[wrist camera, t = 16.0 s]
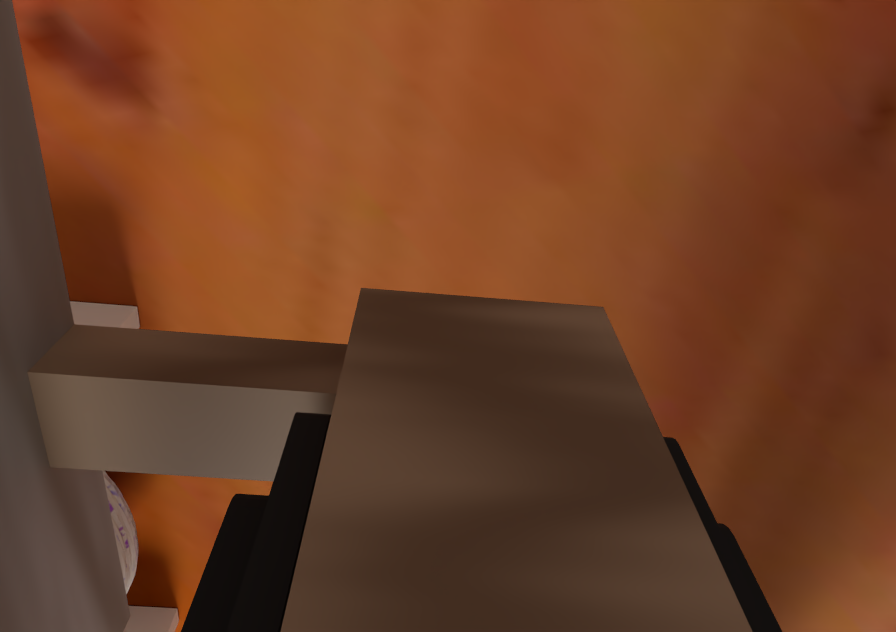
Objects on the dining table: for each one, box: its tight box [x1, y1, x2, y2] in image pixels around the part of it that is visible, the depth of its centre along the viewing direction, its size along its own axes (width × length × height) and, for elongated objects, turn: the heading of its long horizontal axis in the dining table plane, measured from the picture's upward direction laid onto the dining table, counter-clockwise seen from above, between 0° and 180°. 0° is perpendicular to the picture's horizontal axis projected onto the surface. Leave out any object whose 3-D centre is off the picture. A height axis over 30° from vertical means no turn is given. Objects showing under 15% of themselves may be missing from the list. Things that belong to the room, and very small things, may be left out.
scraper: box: [0, 0, 752, 632], centre depth 9 cm, size 11×14×10 cm
